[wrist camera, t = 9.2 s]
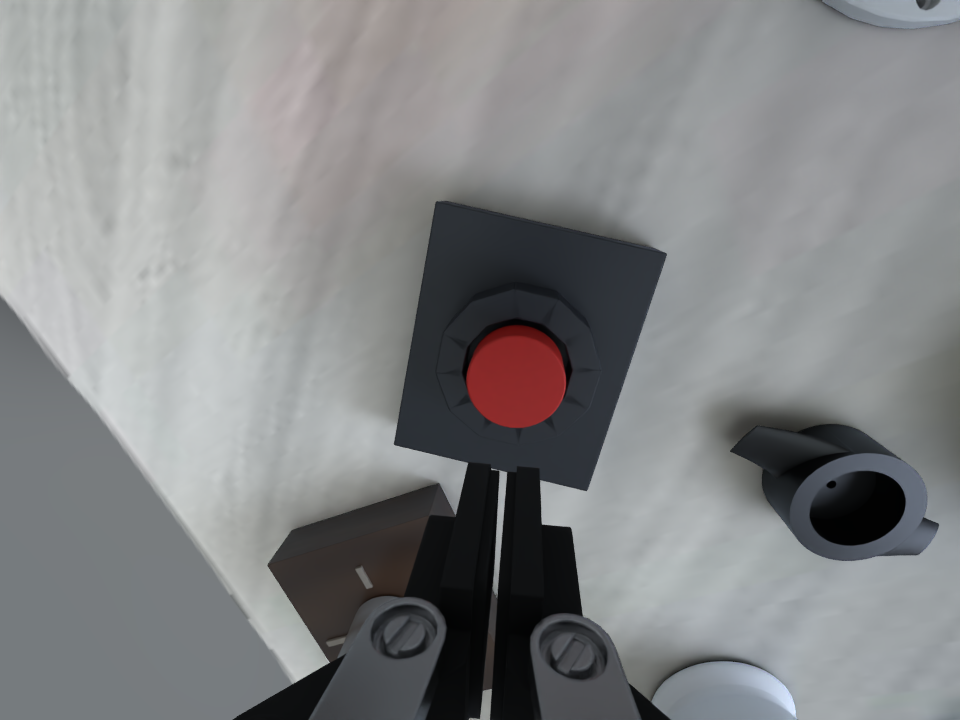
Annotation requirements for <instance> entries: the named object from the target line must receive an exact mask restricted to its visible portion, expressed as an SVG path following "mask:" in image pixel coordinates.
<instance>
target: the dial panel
mask: <svg viewBox="0 0 960 720" xmlns="http://www.w3.org/2000/svg"><path fill="white" fill-rule="evenodd" d="M430 515H440V516H451V517H456V516H455V514H454V512H453V510H452V508H451V506H450V504H449V502H448V500H447V498H446V496H445V494H444V492H443V490H442V488H441V486H440V484H435V485H432V486H429V487H426V488H423V489H420V490H417V491H413V492H410V493H407V494H404V495H401V496H398V497H395V498H392V499H388V500H385V501H382V502H379V503H376V504H373V505H370V506H367V507H363V508H360V509H357V510H354V511H351V512H348V513H345V514H342V515H338V516H335V517H332V518H329V519H326V520H323V521H320V522H317V523H313V524H310V525H307V526H304V527H301V528H298V529H295V530H292V531H291V532H290V534H289V535H288V537H287V538H286V539H285V541H284V542H283V544H282V545H281V546H280V548H279V549H278V551H277V552H276V553H275V555H274V556H273V558H272V559H271V560H270V562H269V563H268V565H267V566H268V567H269V569H270V570H271V572H272V573H273V575H274V577H275V578H276V580H277V581H278V583H279V584H280V586H281V587H282V589H283V591H284V592H285V594H286V595H287V597H288V598H289V600H290V601H291V603H292V604H293V606H294V608H295V609H296V611H297V612H298V614H299V615H300V617H301V618H302V620H303V622H304V623H305V625H306V626H307V628H308V629H309V631H310V632H311V634H312V636H313V637H314V639H315V640H316V642H317V643H318V645H319V646H320V648H321V650H322V651H323V653H324V654H325V656H326V657H327V659H328V660H329V662H332V661H334V660H336V659H337V658H338V655H339V653H340V651H341V648H342V646H343V644H344V641H345V639H346V636H347V634H348V632H349V629H350V627H351V624H352V622H353V620H354V617H355V615H356V613H357V611H358V609H359V608H360V607H361V606H362V605H363V604H364V603H365V602H367V601H368V600H370V599H373V598H376V597H380V596H394V597H399V598H403V597H404V594H405V591H406V588H407V585H408V581H409V578H410V575H411V572H412V569H413V566H414V562H415V559H416V556H417V553H418V550H419V547H420V543H421V540H422V537H423V534H424V531H425V527H426V524H427V521H428V518H429V516H430ZM496 613H497V598H496V596H495V594H494V592H493V590H492V598H491V608H490V619H489V629H488V640H487V651H486V661H485V672H484V682H483V691H484V690H488V689H492V680H493V663H494V646H495V630H496Z"/></svg>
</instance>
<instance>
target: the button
mask: <svg viewBox="0 0 960 720" xmlns="http://www.w3.org/2000/svg"><path fill="white" fill-rule="evenodd" d="M466 384H467V390H468V394H469V397H470V399H471V401H472V403H473V405H474V406H475V408H476V409H477V410H478V411H479V412H480V413H481V414H482V415H483V416H484V417H486V418H487V419H488V420H490V421H492V422H493V423H496V424H498V425H501V426H504V427H510V428H524V427H529V426H533V425H536V424H538V423H540V422H542V421H544V420H545V419H547V418H548V417H549V416H551V415H552V414H553V413H554V412H555V411H556V409H557V408H558V407H559V405H560V403H561V401H562V399H563V397H564V394H565V389H566V375H565V370H564V364H563V359H562V356H561V353H560V351H559V349H558V347H557V346H556V344H555V343H554V342H553V341H552V340H551V338H550V337H548V336H547V335H546V334H544V333H543V332H541V331H540V330H537V329H535V328H532V327H529V326H524V325H509V326H505V327H501V328H498V329H496V330H494V331H492V332H491V333H489V334H488V335H487V336H485V337H484V338H483V339H482V340H481V342H480V343H479V344H478V346H477V347H476V349H475V351H474V354H473V356H472V359H471V362H470V364H469V368H468V371H467V377H466Z"/></svg>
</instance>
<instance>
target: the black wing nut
mask: <svg viewBox="0 0 960 720" xmlns="http://www.w3.org/2000/svg"><path fill="white" fill-rule="evenodd" d="M730 452H733V453H735V454H737V455H739V456H741V457H743V458H745V459H747V460H749V461H751V462H753V463H755V464H757V465H758V466H760V467H762V468H763V469H764V470H763V475H762V486H763V491H764V494H765V496H766V498H767V500H768V502H769V503H770V504H771V506H772V507H773V508H774V509H775V511H776V512H777V513H778V515H779V516H780V517H781V519H782V520H783V521H784V522H785V524H786V525H787V526H788V528H789V529H790V530H791V531H792V533H793V534H794V535H795V537H796V538H797V539H798V541H799V542H800V543H801V544H802V545H803V546H804V547H806V548H807V549H808V550H810V551H811V552H813V553H815V554H817V555H819V556H822V557H825V558H829V559H833V560H841V561H854V560H863V559H868V558H872V557H875V556H895V555H918V554H920V553H921V552H922V551H923V550H924V549H925V548H926V547H927V546H928V545H929V544H930V542H931V541H932V539H933V538H934V536H935V534H936V532H937V530H938V527H939V524H938V523H935V522H933V521H931V520H928V519H926V518H924V514H925V511H926V507H927V491H926V487H925V484H924V482H923V480H922V478H921V477H920V475H919V474H918V473H917V471H916V470H915V469H913V468H912V467H911V466H910V465H908V464H907V463H906V462H904V461H903V460H901V459H900V458H899V457H897V456H896V455H894V454H893V453H892V452H890V451H889V450H887V449H886V448H885V447H883V446H882V445H880V444H879V443H878V442H876V441H875V440H873V439H872V438H871V437H869V436H868V435H866V434H865V433H863V432H862V431H860V430H858V429H855V428H852V427H849V426H844V425H836V424H827V425H819V426H814V427H810V428H807V429H804V430H802V431H799V432H792V431H787V430H782V429H777V428H771V427H765V426H756V427H755V428H753V429H752V430H751V431H750V432H748V433H747V434H746V435H745V436H744V437H743V438H742V439H741V440H740V441H739V442H738V443H737V444H736V445H735V446H734V447H733V448H732V449H731V451H730Z"/></svg>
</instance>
